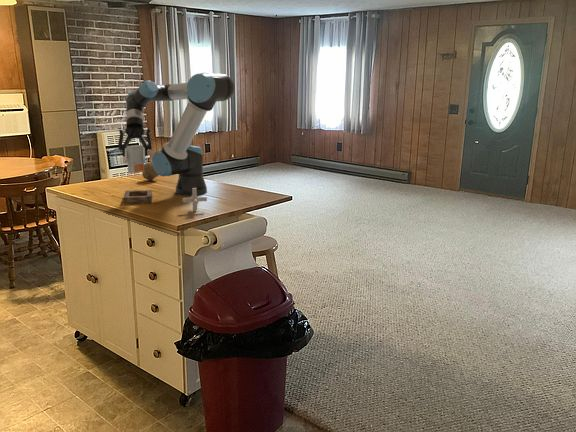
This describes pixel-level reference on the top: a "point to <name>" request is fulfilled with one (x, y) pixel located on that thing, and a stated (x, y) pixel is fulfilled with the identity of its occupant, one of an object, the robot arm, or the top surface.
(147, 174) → the natural sponge
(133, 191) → the socket
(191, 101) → the robot arm
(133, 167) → the skincare box
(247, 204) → the top surface
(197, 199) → the pipe connector
